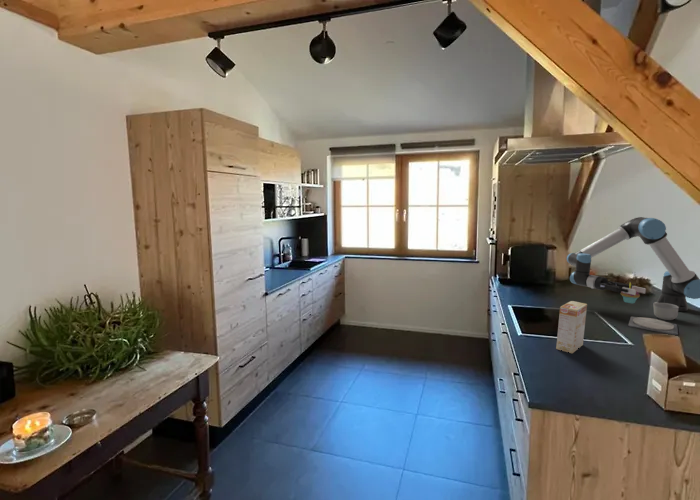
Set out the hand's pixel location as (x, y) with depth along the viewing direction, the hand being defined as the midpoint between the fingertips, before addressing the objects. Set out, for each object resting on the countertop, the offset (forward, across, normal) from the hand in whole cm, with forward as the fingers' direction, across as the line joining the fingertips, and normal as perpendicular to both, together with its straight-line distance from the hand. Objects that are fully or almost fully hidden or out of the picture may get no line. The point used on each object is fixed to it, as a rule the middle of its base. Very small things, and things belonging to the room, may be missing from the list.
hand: (640, 291), depth 204 cm
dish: (+6, -4, -18) cm, 19 cm away
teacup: (0, -26, -18) cm, 32 cm away
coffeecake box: (+8, +65, -18) cm, 68 cm away
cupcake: (-5, 0, -7) cm, 9 cm away
